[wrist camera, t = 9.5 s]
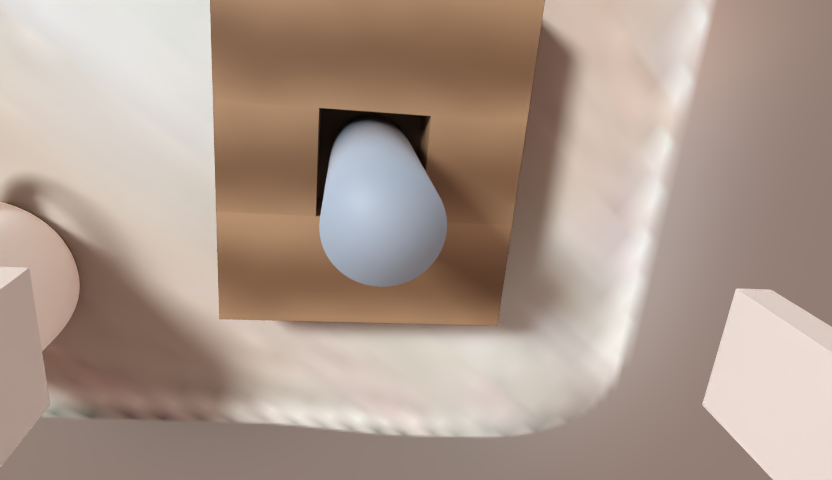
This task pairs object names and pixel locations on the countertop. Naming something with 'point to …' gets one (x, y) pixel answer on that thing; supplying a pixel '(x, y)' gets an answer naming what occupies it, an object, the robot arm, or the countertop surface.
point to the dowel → (379, 205)
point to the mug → (41, 267)
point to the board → (344, 100)
